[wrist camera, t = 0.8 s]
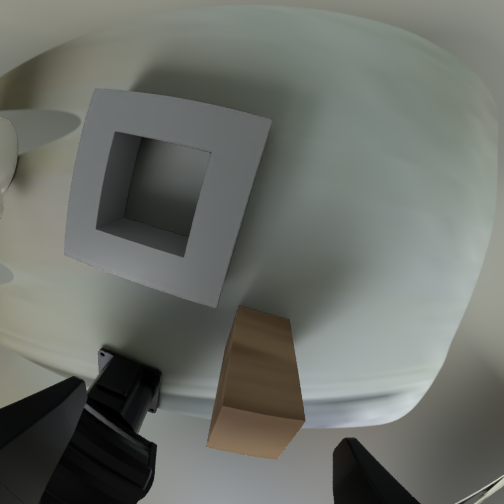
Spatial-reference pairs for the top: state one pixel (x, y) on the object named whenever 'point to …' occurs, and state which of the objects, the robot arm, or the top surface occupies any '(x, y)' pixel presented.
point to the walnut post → (257, 388)
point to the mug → (7, 156)
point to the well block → (119, 178)
